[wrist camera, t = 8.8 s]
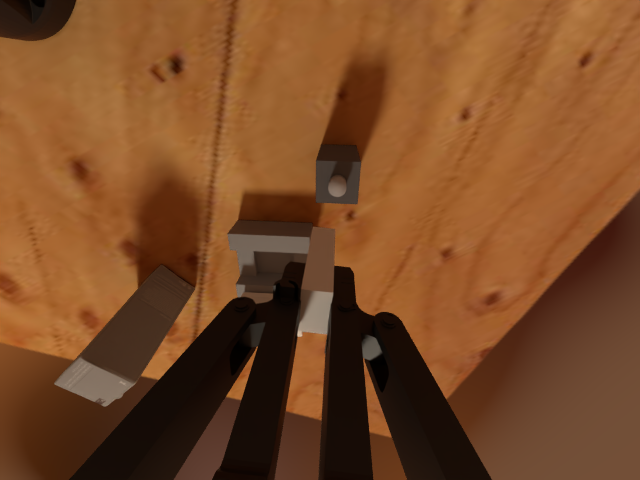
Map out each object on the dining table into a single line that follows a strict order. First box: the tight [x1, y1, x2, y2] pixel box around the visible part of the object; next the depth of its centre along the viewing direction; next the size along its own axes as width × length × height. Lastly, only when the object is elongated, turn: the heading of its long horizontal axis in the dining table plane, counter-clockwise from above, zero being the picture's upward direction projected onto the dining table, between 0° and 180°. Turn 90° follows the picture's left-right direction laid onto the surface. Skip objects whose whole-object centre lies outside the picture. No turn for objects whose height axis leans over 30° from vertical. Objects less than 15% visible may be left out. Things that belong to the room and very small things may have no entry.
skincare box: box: [54, 265, 195, 406], centre depth 37 cm, size 8×7×16 cm
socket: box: [228, 220, 312, 297], centre depth 39 cm, size 14×10×4 cm
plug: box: [316, 144, 361, 204], centre depth 29 cm, size 4×4×10 cm
